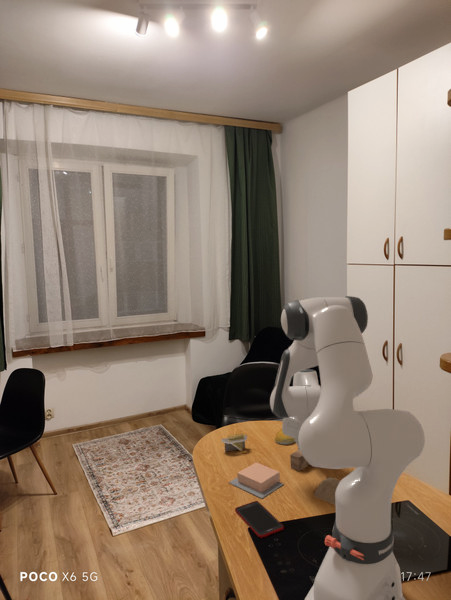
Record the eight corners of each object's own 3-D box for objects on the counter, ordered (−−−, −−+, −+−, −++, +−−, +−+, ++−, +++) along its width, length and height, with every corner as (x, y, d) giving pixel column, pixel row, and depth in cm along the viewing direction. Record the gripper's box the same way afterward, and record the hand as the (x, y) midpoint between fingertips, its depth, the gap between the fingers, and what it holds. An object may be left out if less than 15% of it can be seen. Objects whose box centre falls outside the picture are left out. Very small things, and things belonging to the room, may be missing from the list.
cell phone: (257, 503, 126) (256, 500, 126) (285, 530, 113) (285, 526, 113) (233, 511, 123) (233, 508, 123) (260, 540, 110) (260, 536, 110)
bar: (299, 472, 143) (298, 457, 142) (290, 468, 145) (290, 454, 145) (325, 455, 154) (325, 441, 153) (317, 452, 156) (317, 439, 156)
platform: (263, 454, 157) (263, 437, 156) (216, 463, 152) (215, 445, 152) (253, 441, 169) (252, 425, 168) (209, 449, 164) (208, 432, 163)
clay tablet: (341, 511, 120) (341, 502, 120) (310, 498, 127) (310, 490, 127) (364, 489, 131) (363, 480, 131) (334, 478, 138) (334, 470, 138)
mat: (261, 498, 128) (261, 497, 128) (229, 483, 138) (229, 482, 138) (283, 484, 135) (283, 483, 135) (250, 470, 145) (250, 469, 145)
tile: (279, 480, 137) (261, 492, 130) (256, 470, 144) (238, 481, 138) (279, 471, 136) (261, 483, 130) (256, 462, 144) (237, 472, 137)
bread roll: (274, 445, 164) (273, 435, 163) (276, 435, 173) (276, 425, 172) (295, 446, 162) (295, 436, 162) (297, 436, 171) (297, 426, 170)
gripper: (277, 410, 153) (279, 447, 154) (327, 424, 138) (328, 465, 140) (288, 405, 157) (289, 441, 159) (337, 418, 143) (338, 458, 144)
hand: (308, 452), depth 149 cm, fingers open, 5 cm apart
